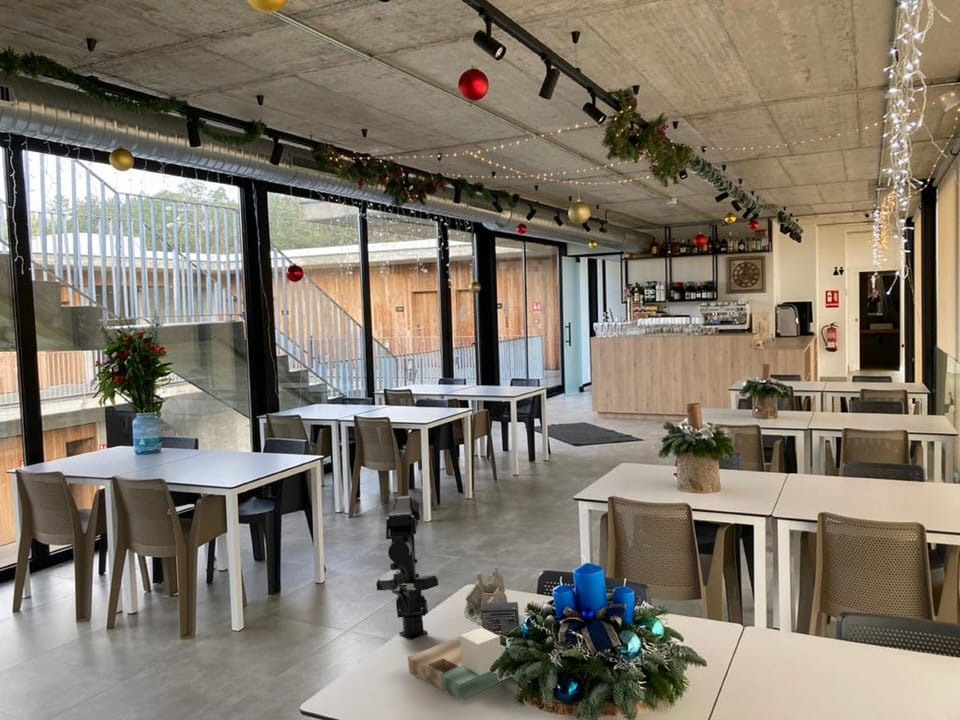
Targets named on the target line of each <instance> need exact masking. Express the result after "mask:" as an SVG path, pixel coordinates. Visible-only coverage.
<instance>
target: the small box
mask: <svg viewBox="0 0 960 720" xmlns="http://www.w3.org/2000/svg"><path fill="white" fill-rule="evenodd" d="M481 614H482V626H481V627H482V628H484V629H486V630H488V631H490V632H492V633H494V632H496V631H502V632H506V633H509V632H511V631H512V630H513V629H514V628H516V627H518V626H520V615H519V603H518V601H513V602H512V601H511V602H510V601H509V602H508V601H507V603H483V605H482V609H481ZM500 645H502V646H507V645H506V638H505V637H503V636H500Z"/></svg>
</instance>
